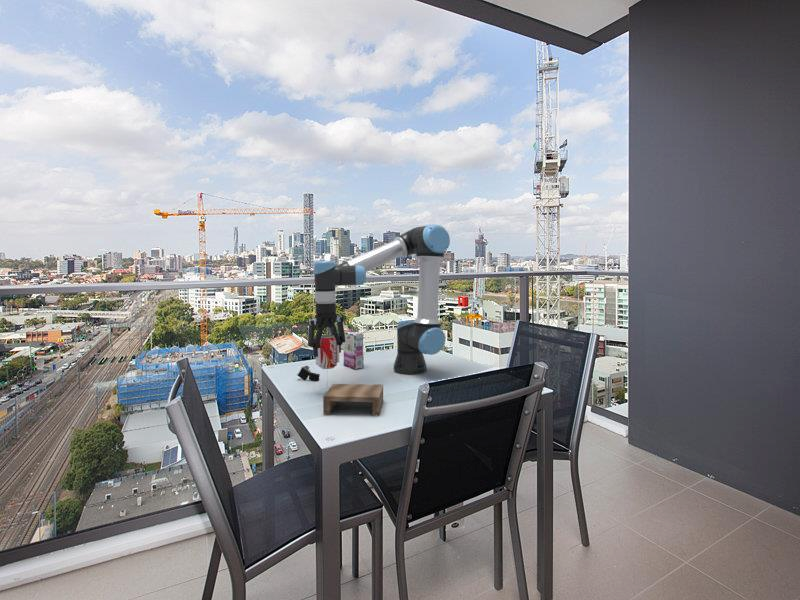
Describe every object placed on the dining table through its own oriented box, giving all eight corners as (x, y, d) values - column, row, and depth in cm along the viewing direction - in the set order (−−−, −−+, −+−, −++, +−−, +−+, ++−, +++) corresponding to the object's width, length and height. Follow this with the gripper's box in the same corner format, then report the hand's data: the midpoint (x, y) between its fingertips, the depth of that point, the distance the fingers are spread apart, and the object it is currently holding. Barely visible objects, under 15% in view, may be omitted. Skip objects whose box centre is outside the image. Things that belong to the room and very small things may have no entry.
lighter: (315, 385, 172) (322, 375, 171) (313, 387, 169) (320, 376, 168) (299, 373, 173) (305, 363, 172) (297, 375, 171) (303, 364, 170)
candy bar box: (364, 368, 190) (364, 333, 188) (355, 370, 187) (354, 335, 185) (352, 364, 199) (351, 330, 197) (343, 365, 196) (342, 331, 194)
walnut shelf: (383, 401, 144) (383, 384, 143) (378, 415, 130) (378, 397, 130) (333, 400, 145) (332, 383, 145) (323, 414, 131) (323, 396, 131)
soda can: (328, 370, 148) (327, 338, 147) (314, 368, 151) (313, 336, 150) (341, 366, 154) (340, 335, 153) (327, 364, 157) (326, 333, 156)
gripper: (344, 300, 159) (345, 357, 161) (295, 303, 147) (298, 365, 149) (354, 301, 153) (355, 360, 156) (304, 305, 141) (307, 369, 143)
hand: (327, 363), depth 152 cm, fingers closed on soda can, 7 cm apart
